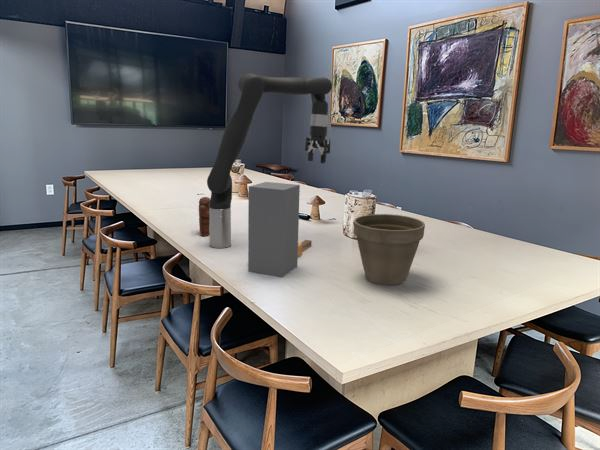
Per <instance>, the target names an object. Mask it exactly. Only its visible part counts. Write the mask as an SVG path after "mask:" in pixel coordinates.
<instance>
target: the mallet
mask: <svg viewBox="0 0 600 450" xmlns="http://www.w3.org/2000/svg"><path fill="white" fill-rule="evenodd" d="M312 243H313V241H312V240H308V239H304V240H303V241H301V242H298V259H299V258H300V257H301V256H303V252H305V251H307V249H309V248H310V247H312Z"/></svg>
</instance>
